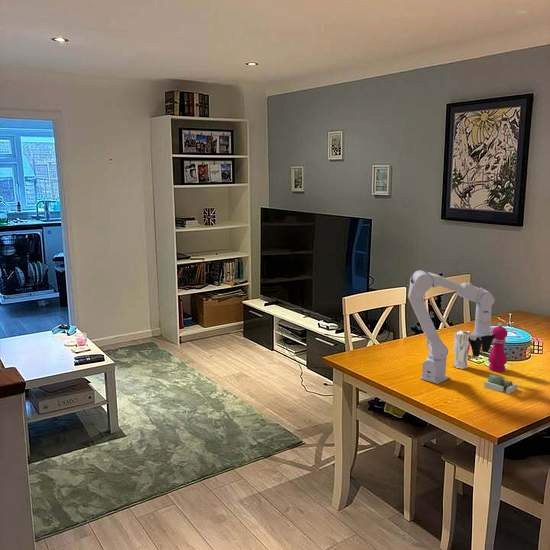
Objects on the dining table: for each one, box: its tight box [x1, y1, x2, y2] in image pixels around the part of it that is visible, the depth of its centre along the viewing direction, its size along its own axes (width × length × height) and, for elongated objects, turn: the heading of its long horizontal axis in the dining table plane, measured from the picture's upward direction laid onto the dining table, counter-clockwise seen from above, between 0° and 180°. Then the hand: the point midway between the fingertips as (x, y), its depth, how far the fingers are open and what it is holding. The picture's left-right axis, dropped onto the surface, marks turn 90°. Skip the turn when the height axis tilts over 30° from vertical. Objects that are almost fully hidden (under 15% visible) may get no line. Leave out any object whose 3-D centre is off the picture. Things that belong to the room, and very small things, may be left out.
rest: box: [483, 381, 518, 395], centre depth 208 cm, size 7×10×2 cm
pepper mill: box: [487, 322, 508, 373], centre depth 226 cm, size 7×7×20 cm
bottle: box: [487, 373, 514, 388], centre depth 209 cm, size 4×4×8 cm
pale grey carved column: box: [452, 329, 472, 370], centre depth 230 cm, size 7×7×15 cm
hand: (480, 353), depth 216 cm, fingers open, 7 cm apart
